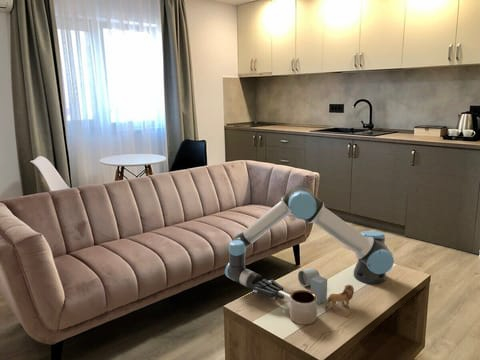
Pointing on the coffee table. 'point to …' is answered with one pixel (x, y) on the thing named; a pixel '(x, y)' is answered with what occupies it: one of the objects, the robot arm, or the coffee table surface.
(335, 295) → the lion figurine
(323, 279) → the slate block
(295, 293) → the planter
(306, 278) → the ceramic mug
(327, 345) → the coffee table surface
